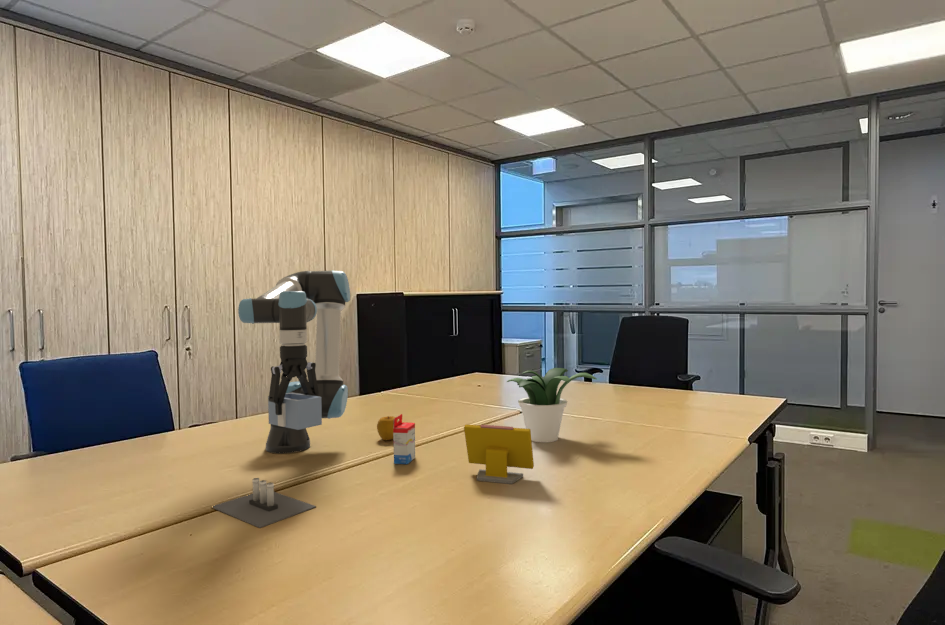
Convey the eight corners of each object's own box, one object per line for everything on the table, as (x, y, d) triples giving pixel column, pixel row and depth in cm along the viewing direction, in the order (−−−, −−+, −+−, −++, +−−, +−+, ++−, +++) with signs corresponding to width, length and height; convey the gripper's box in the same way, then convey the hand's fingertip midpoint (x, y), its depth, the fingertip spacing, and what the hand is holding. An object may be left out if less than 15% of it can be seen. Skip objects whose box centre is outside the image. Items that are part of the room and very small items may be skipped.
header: (211, 507, 146) (210, 481, 146) (266, 490, 159) (266, 466, 159) (259, 528, 133) (259, 499, 133) (316, 507, 146) (315, 481, 145)
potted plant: (591, 453, 191) (590, 378, 190) (492, 445, 203) (491, 374, 203) (603, 432, 221) (603, 367, 220) (516, 425, 233) (516, 364, 232)
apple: (393, 443, 208) (392, 419, 207) (372, 441, 211) (372, 418, 210) (403, 437, 216) (403, 414, 216) (383, 436, 219) (383, 413, 218)
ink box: (407, 464, 181) (407, 419, 181) (393, 464, 182) (392, 418, 182) (415, 457, 190) (415, 413, 189) (401, 456, 191) (401, 413, 190)
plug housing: (268, 423, 165) (268, 396, 165) (292, 418, 171) (291, 392, 171) (298, 429, 156) (297, 401, 156) (321, 424, 163) (321, 396, 163)
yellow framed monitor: (534, 477, 168) (533, 424, 167) (527, 485, 160) (527, 430, 160) (470, 471, 174) (469, 420, 174) (461, 479, 167) (460, 425, 166)
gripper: (268, 347, 153) (270, 431, 153) (330, 342, 169) (332, 418, 170) (253, 346, 157) (254, 428, 158) (315, 341, 174) (316, 415, 174)
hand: (294, 423), depth 164 cm, fingers closed on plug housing, 8 cm apart
